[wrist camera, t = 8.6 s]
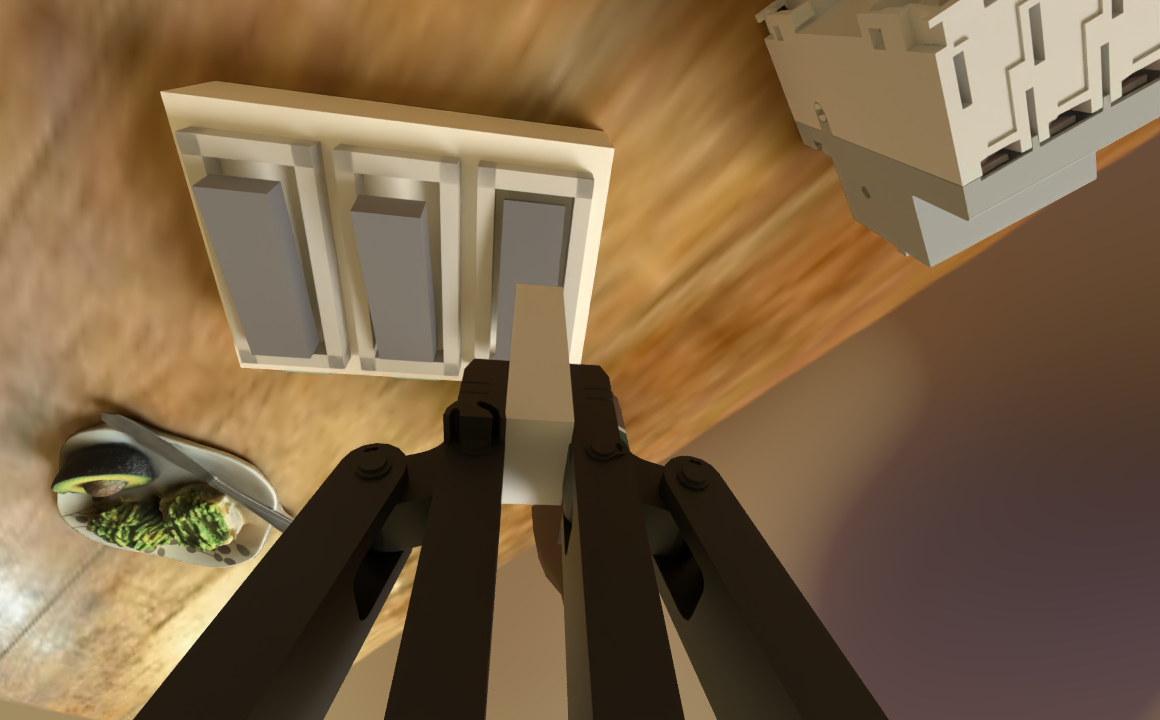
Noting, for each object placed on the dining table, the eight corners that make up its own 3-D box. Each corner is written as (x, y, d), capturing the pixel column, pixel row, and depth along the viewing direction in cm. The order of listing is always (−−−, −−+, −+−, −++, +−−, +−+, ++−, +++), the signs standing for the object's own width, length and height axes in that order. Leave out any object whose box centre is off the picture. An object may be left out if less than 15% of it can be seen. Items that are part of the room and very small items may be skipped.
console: (215, 80, 28) (140, 95, 23) (604, 131, 31) (617, 154, 26) (274, 331, 37) (230, 383, 32) (572, 352, 40) (577, 403, 35)
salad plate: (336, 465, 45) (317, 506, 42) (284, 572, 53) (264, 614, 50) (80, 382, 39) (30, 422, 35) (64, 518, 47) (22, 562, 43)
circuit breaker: (832, 220, 35) (992, 330, 23) (754, 15, 28) (926, 12, 16) (941, 156, 33) (1181, 238, 21) (888, -82, 26) (1203, -173, 14)
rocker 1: (209, 173, 24) (191, 186, 23) (280, 181, 25) (266, 194, 23) (263, 338, 31) (252, 355, 29) (319, 341, 31) (310, 358, 30)
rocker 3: (505, 198, 28) (503, 199, 26) (563, 204, 28) (565, 206, 26) (495, 368, 31) (493, 378, 29) (547, 372, 31) (548, 381, 30)
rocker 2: (358, 194, 25) (350, 211, 24) (426, 201, 25) (420, 218, 24) (385, 340, 32) (379, 359, 31) (437, 344, 32) (433, 362, 31)
